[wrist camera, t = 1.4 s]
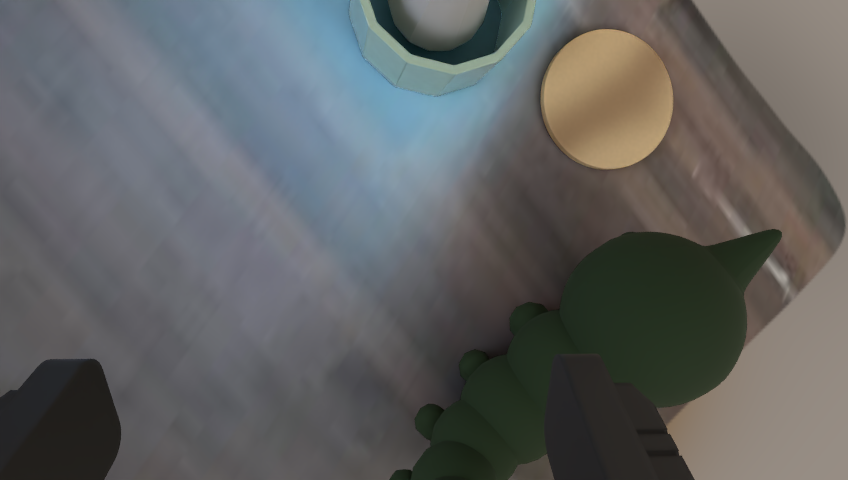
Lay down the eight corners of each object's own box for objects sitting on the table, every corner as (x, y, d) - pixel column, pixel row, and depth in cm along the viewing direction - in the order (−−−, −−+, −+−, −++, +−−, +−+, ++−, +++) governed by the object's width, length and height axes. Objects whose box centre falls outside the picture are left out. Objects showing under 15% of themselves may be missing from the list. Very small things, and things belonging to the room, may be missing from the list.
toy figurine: (443, 510, 38) (731, 276, 39) (514, 817, 20) (1068, 358, 20) (354, 406, 37) (652, 166, 38) (339, 627, 18) (932, 144, 19)
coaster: (512, 104, 37) (515, 102, 36) (600, 2, 37) (605, -1, 37) (610, 197, 38) (614, 197, 37) (693, 98, 39) (699, 96, 38)
